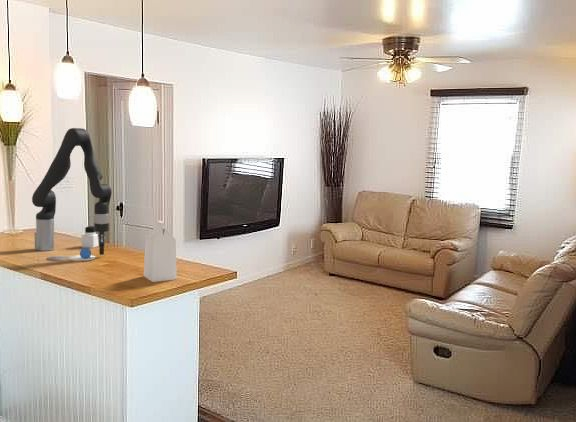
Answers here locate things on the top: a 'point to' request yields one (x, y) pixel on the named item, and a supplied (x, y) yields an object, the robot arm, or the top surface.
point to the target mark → (80, 258)
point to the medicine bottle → (90, 238)
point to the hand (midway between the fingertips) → (101, 254)
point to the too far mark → (56, 258)
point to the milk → (160, 255)
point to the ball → (85, 253)
